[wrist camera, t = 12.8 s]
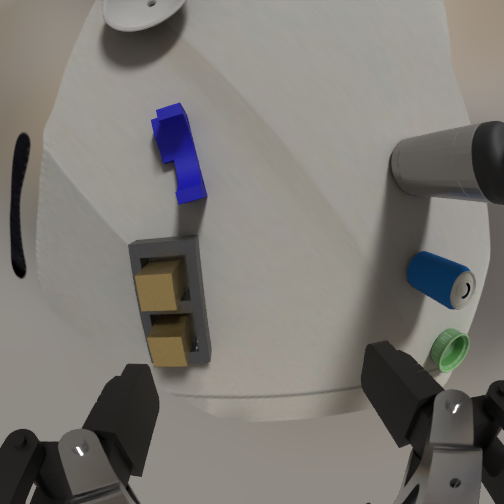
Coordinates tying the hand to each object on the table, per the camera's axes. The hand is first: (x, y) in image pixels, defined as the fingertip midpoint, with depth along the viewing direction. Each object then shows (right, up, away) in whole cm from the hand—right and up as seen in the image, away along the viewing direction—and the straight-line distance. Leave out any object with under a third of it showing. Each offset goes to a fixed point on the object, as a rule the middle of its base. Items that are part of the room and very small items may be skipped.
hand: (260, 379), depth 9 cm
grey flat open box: (-12, -2, +31) cm, 33 cm away
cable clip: (-10, +17, +27) cm, 33 cm away
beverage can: (+28, +2, +33) cm, 43 cm away
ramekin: (+40, -15, +37) cm, 57 cm away
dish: (-16, +45, +20) cm, 52 cm away
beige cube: (-12, +2, +29) cm, 31 cm away
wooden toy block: (-11, -6, +31) cm, 33 cm away
